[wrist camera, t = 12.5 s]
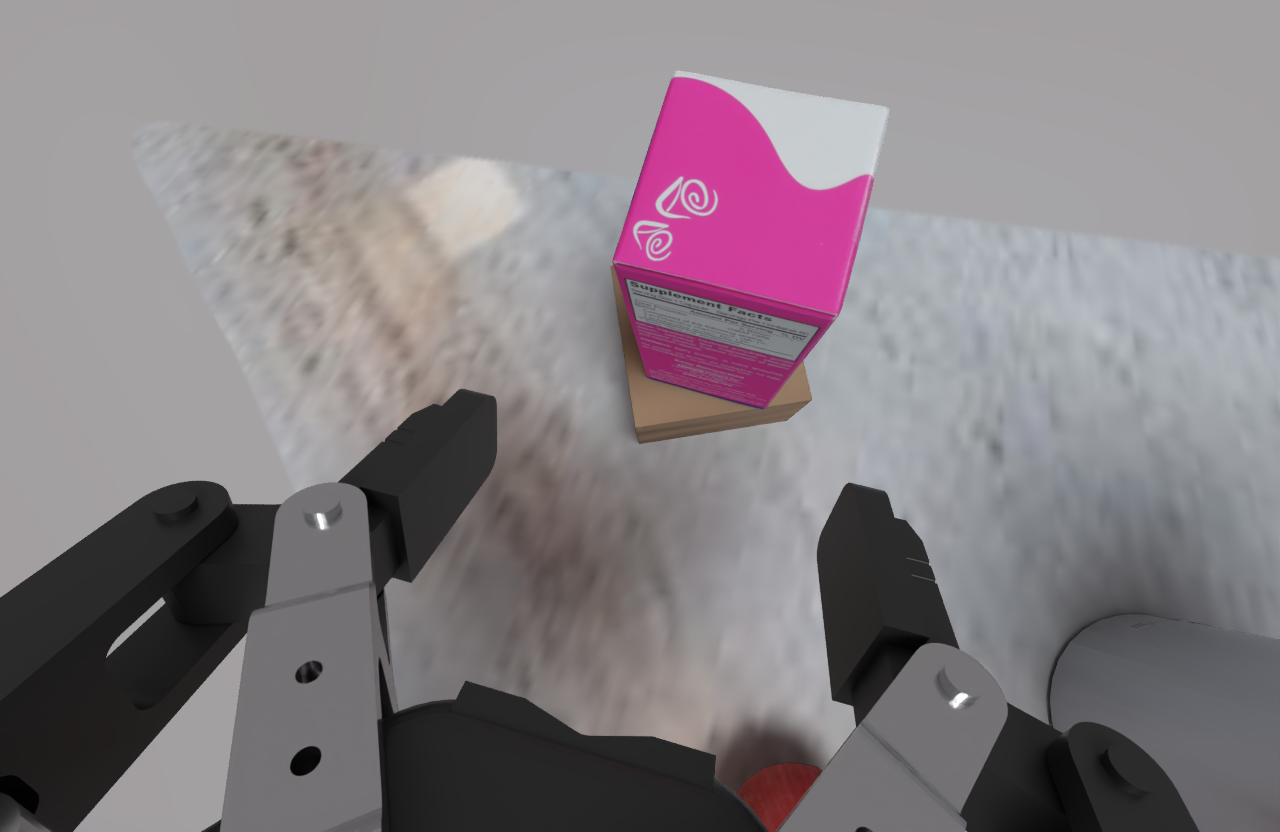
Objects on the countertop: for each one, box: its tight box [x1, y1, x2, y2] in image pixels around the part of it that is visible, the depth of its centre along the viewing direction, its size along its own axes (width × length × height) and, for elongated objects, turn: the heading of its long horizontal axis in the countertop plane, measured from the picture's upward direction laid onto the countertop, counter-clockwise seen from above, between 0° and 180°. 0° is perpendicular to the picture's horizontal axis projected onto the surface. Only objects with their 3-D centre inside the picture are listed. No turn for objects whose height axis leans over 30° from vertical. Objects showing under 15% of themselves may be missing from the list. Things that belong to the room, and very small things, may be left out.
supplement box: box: [613, 71, 890, 409], centre depth 18 cm, size 6×6×12 cm
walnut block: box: [611, 266, 812, 444], centre depth 26 cm, size 8×8×5 cm
